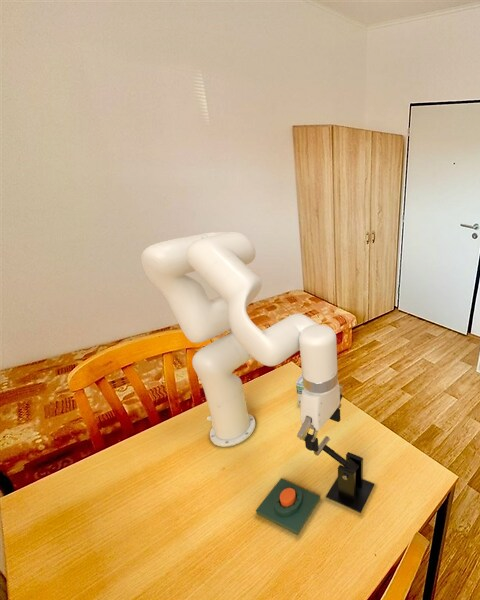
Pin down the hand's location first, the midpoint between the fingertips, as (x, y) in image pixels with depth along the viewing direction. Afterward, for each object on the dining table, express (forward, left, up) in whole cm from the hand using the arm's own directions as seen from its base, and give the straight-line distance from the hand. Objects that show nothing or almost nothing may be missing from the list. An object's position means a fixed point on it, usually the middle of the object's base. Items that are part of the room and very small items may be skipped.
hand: (323, 433), depth 78 cm
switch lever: (+3, 0, -8) cm, 8 cm away
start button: (-5, -10, -15) cm, 18 cm away
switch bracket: (+7, 0, -18) cm, 20 cm away
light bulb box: (-22, +25, -18) cm, 38 cm away
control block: (-5, -10, -18) cm, 21 cm away
